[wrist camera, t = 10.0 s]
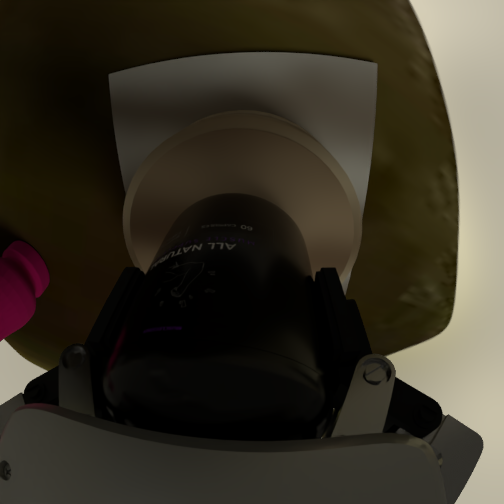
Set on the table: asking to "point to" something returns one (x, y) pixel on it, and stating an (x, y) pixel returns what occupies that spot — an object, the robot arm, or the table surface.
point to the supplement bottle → (224, 331)
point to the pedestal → (248, 144)
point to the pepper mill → (20, 285)
